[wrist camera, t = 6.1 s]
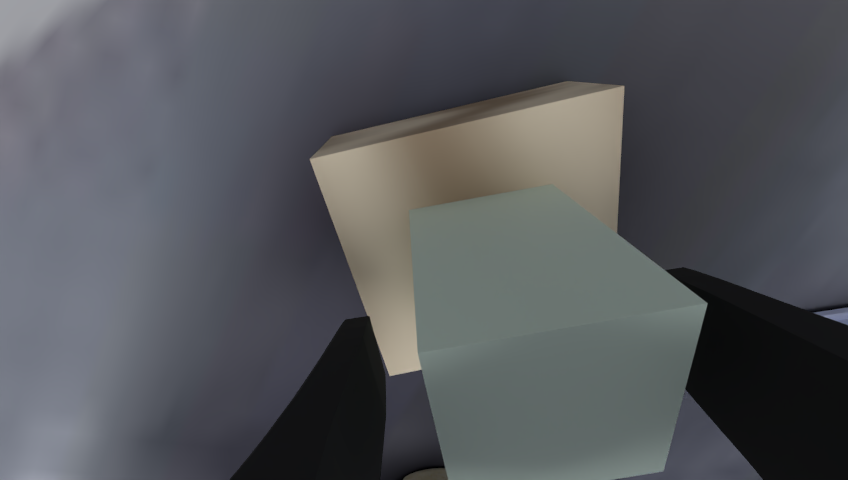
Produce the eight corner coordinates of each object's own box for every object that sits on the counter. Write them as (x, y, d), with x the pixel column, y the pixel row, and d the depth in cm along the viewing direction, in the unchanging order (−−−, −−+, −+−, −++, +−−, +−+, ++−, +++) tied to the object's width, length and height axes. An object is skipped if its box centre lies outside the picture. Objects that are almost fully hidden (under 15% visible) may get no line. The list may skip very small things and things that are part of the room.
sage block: (552, 184, 11) (707, 302, 5) (551, 300, 13) (663, 471, 7) (408, 210, 11) (418, 354, 5) (431, 320, 13) (454, 505, 7)
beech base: (562, 80, 13) (624, 85, 9) (567, 275, 17) (611, 330, 13) (333, 134, 13) (309, 159, 10) (391, 312, 17) (389, 375, 14)
